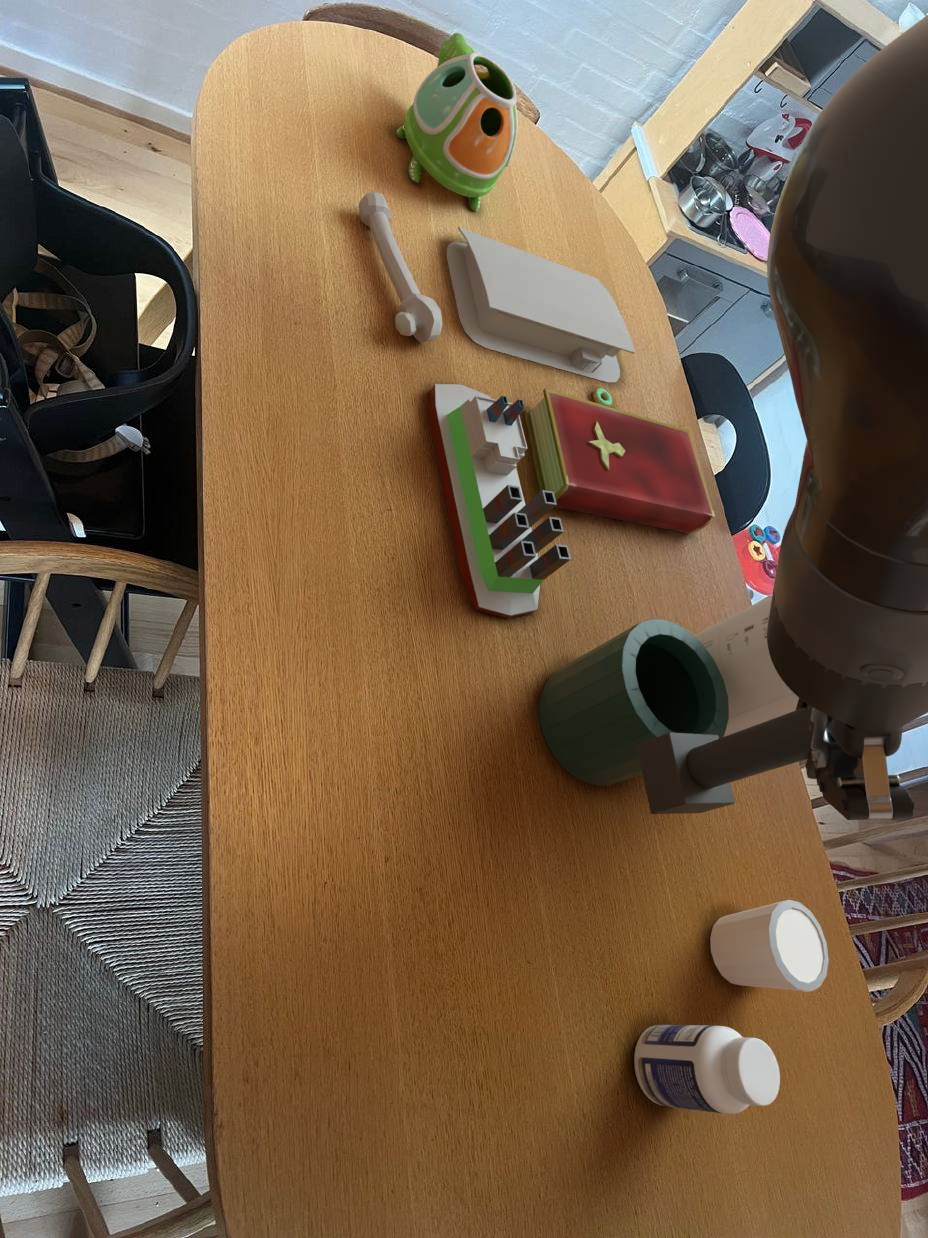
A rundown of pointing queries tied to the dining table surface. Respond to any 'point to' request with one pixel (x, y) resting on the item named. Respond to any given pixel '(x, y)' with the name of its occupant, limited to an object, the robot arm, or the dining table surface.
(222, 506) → the dining table surface
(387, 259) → the grey knobbed bar
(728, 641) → the beige cylinder
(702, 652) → the jar
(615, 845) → the dining table surface
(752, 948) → the white tapered cup
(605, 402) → the green looped rod
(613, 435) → the hardcover book
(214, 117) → the dining table surface
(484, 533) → the toy boat
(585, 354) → the grey tray
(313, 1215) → the dining table surface
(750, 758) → the grey peg on base
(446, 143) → the turtle holder
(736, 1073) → the pill bottle
